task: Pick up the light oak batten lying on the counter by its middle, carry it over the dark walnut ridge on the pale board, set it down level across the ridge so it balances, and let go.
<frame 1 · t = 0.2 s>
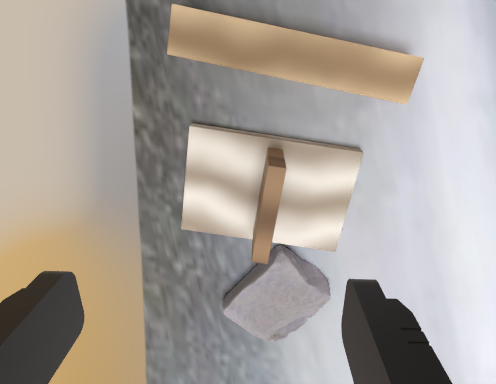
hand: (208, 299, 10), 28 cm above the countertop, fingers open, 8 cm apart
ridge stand: (267, 187, 38), on the countertop
oak batten: (290, 55, 33), on the countertop
stone block: (278, 288, 44), on the countertop
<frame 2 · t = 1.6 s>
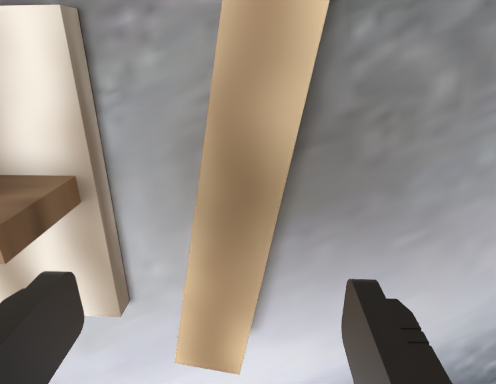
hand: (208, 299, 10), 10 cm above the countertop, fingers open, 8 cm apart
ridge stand: (10, 178, 21), on the countertop
oak batten: (242, 179, 20), on the countertop
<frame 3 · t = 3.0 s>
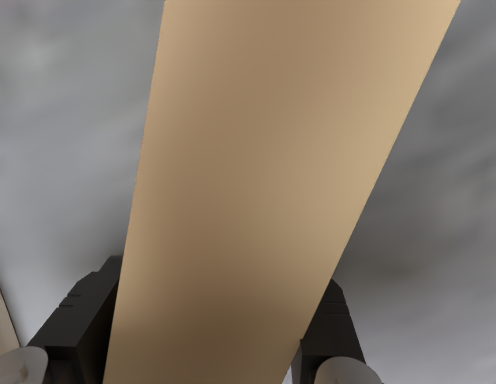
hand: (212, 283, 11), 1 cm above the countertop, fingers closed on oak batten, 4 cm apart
oak batten: (216, 269, 11), on the countertop, touching gripper
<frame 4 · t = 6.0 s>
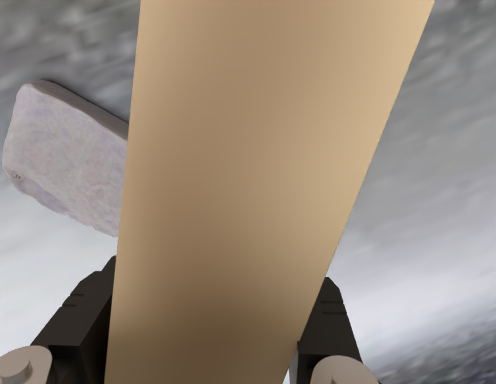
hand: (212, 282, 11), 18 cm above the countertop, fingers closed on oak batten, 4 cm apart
oak batten: (216, 270, 11), point 17 cm above the countertop, touching gripper
stone block: (95, 160, 29), on the countertop
when the fingers open (9 cm above the countertop, at t = 8.4 s): oak batten stays where it is, resting on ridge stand.
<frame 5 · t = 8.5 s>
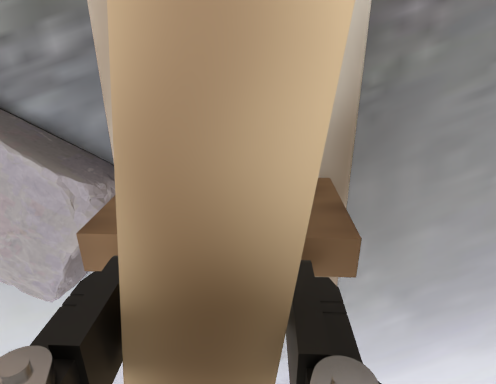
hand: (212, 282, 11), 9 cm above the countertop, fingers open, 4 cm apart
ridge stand: (233, 180, 19), on the countertop
oak batten: (220, 255, 12), point 8 cm above the countertop, touching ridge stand
stone block: (20, 191, 21), on the countertop
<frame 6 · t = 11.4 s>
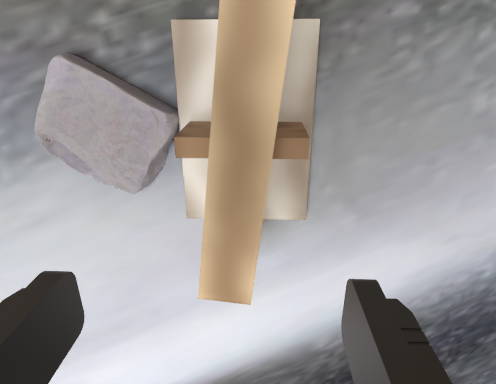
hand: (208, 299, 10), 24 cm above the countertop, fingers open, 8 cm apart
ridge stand: (246, 126, 32), on the countertop
oak batten: (242, 147, 25), point 7 cm above the countertop, touching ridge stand
stone block: (114, 127, 33), on the countertop
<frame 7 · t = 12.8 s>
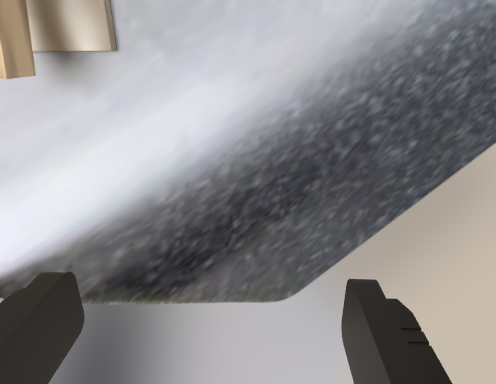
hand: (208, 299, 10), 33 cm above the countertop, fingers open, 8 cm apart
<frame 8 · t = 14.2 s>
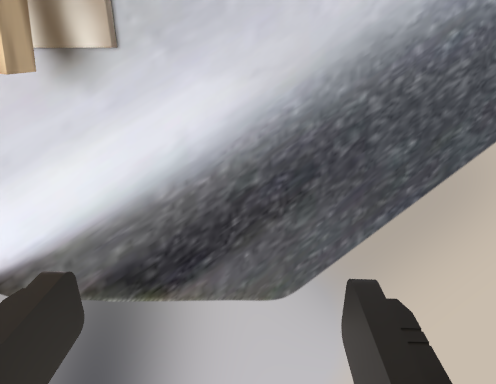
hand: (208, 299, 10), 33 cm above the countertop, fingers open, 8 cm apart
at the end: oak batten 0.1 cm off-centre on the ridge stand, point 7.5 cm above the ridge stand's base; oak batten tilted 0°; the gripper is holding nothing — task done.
